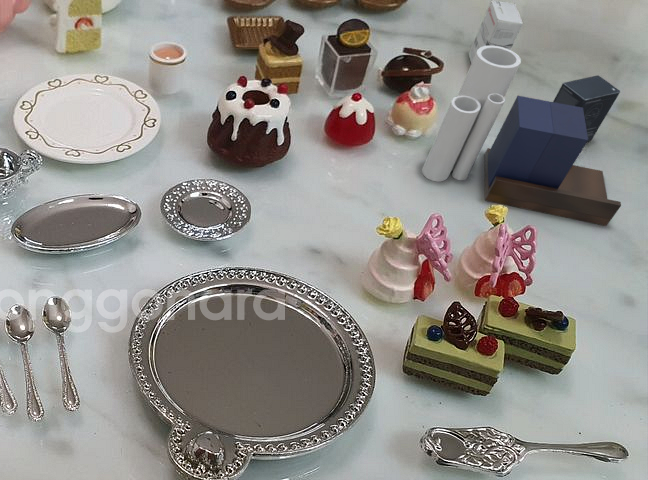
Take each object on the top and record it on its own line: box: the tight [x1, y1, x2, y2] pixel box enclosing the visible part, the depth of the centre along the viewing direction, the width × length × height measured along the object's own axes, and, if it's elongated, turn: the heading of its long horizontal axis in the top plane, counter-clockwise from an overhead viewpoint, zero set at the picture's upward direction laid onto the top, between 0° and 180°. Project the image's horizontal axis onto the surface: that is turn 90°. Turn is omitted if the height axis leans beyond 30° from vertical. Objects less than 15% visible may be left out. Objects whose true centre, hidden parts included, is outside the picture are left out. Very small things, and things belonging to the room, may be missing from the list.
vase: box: [421, 45, 522, 183], centre depth 124 cm, size 11×7×20 cm, turn 146°
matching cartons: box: [488, 95, 589, 189], centre depth 123 cm, size 10×9×12 cm
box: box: [552, 74, 621, 143], centre depth 134 cm, size 8×6×11 cm
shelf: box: [483, 147, 622, 227], centre depth 127 cm, size 19×13×4 cm
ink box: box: [468, 0, 524, 65], centre depth 149 cm, size 9×5×12 cm, turn 170°
